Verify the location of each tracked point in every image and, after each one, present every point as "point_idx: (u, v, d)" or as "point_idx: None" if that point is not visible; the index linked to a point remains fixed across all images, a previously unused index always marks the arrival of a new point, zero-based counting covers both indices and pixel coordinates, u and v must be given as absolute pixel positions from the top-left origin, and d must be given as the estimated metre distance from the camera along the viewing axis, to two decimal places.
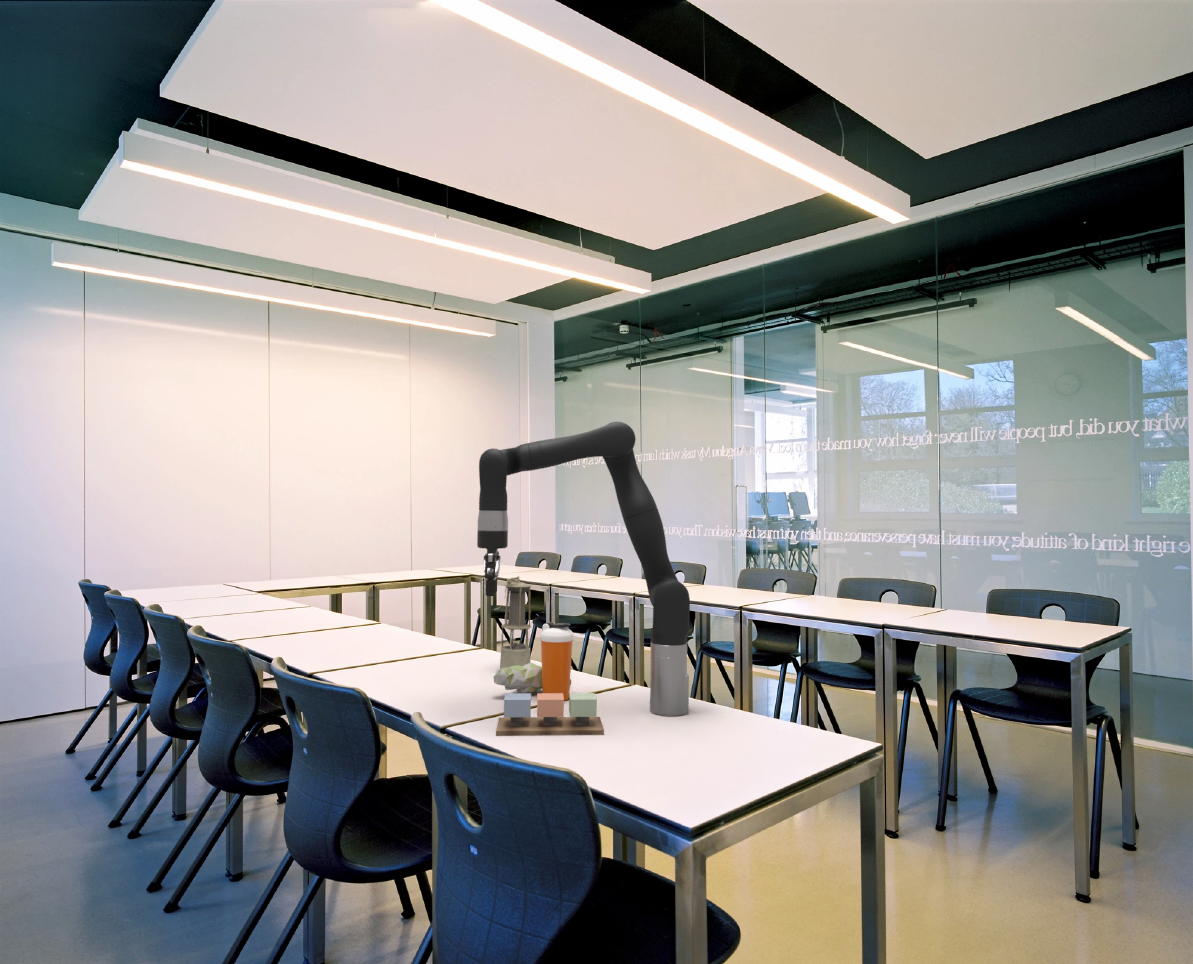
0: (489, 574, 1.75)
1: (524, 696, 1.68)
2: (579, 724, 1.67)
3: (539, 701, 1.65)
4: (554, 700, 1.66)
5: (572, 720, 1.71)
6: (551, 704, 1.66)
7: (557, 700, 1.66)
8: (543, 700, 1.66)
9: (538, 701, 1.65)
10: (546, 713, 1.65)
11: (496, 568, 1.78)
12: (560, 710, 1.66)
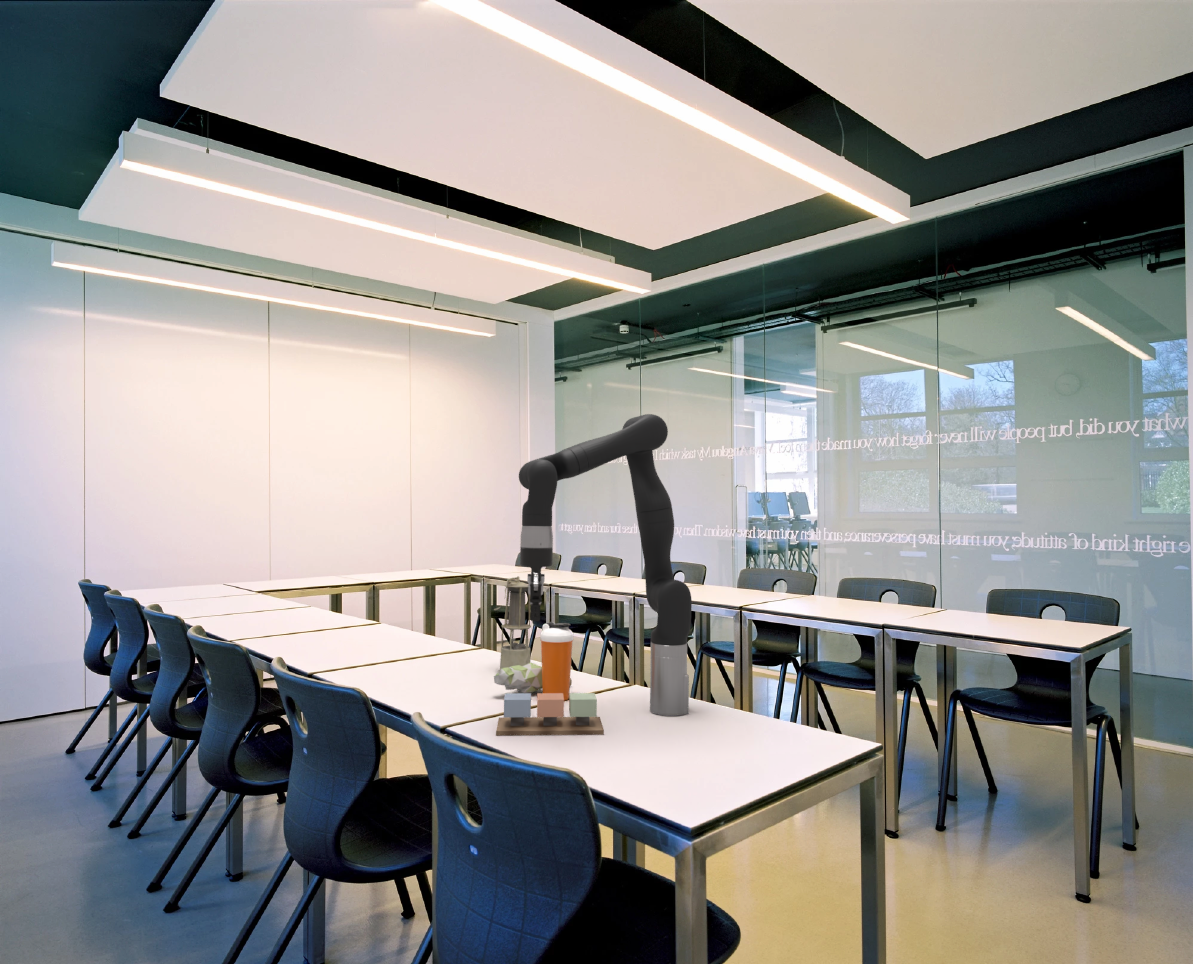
0: (535, 598, 1.66)
1: (524, 696, 1.68)
2: (579, 724, 1.67)
3: (539, 701, 1.65)
4: (554, 700, 1.66)
5: (572, 720, 1.71)
6: (551, 704, 1.66)
7: (557, 700, 1.66)
8: (543, 700, 1.66)
9: (538, 701, 1.65)
10: (546, 713, 1.65)
11: (541, 592, 1.68)
12: (560, 710, 1.66)
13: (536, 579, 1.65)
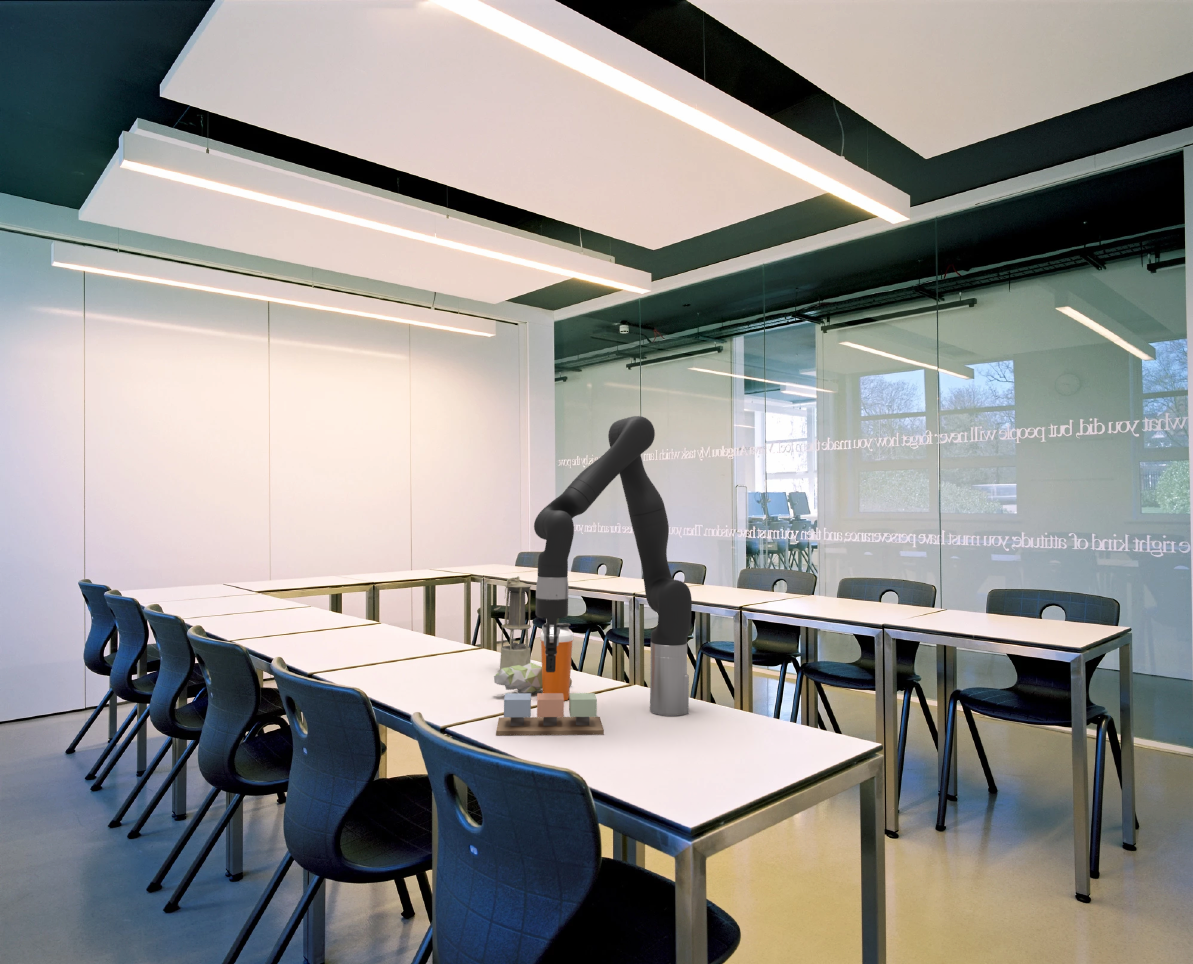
0: (550, 650, 1.66)
1: (524, 696, 1.68)
2: (579, 724, 1.67)
3: (539, 701, 1.65)
4: (554, 700, 1.66)
5: (572, 720, 1.71)
6: (551, 704, 1.66)
7: (557, 700, 1.66)
8: (543, 700, 1.66)
9: (538, 701, 1.65)
10: (546, 713, 1.65)
11: (557, 643, 1.68)
12: (560, 710, 1.66)
13: (552, 631, 1.65)
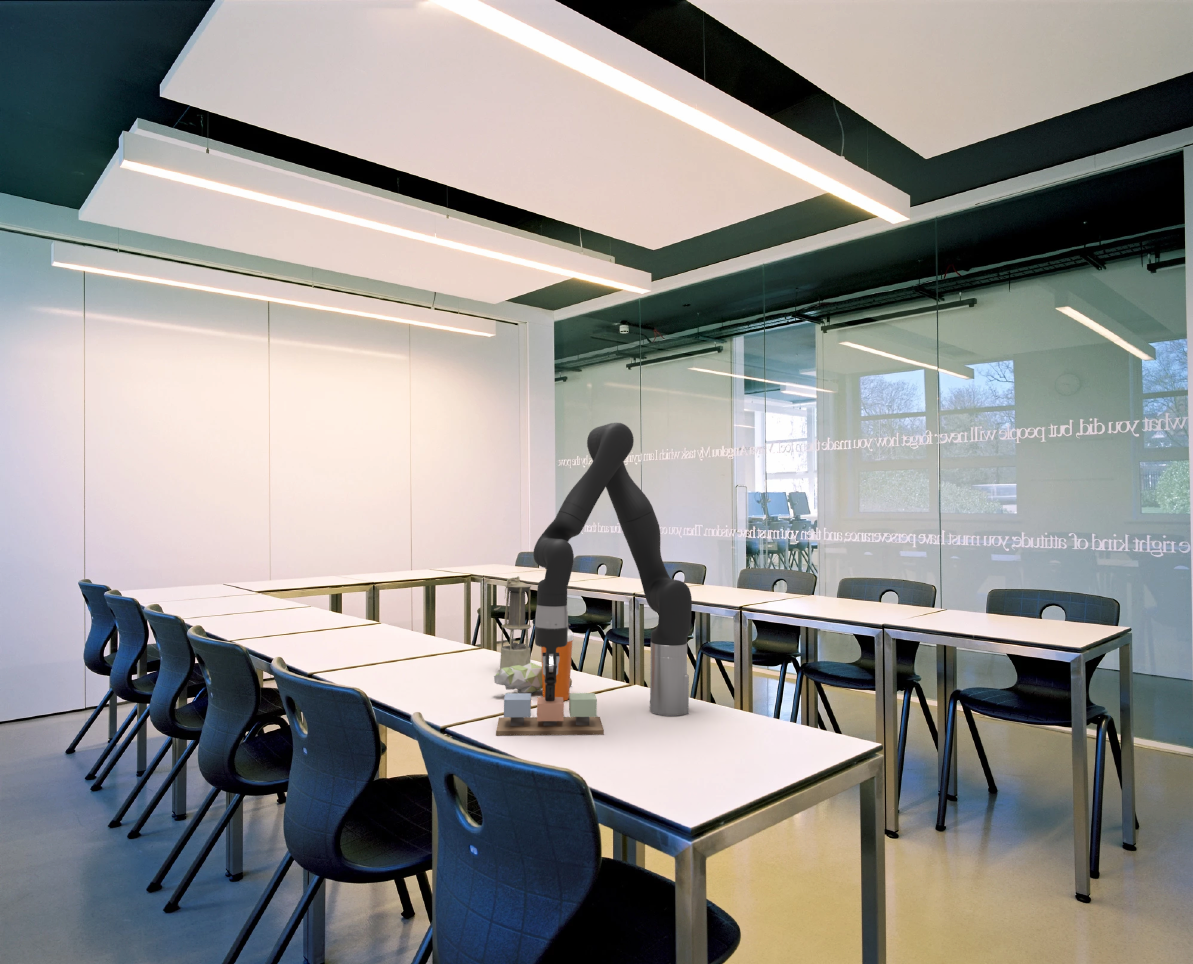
0: (550, 679, 1.66)
1: (524, 696, 1.68)
2: (579, 724, 1.67)
3: (538, 705, 1.65)
4: (554, 704, 1.66)
5: (572, 720, 1.71)
6: (551, 708, 1.66)
7: (557, 704, 1.66)
8: (543, 704, 1.66)
9: (538, 705, 1.65)
10: (546, 717, 1.65)
11: (556, 672, 1.67)
12: (560, 714, 1.66)
13: (551, 661, 1.64)
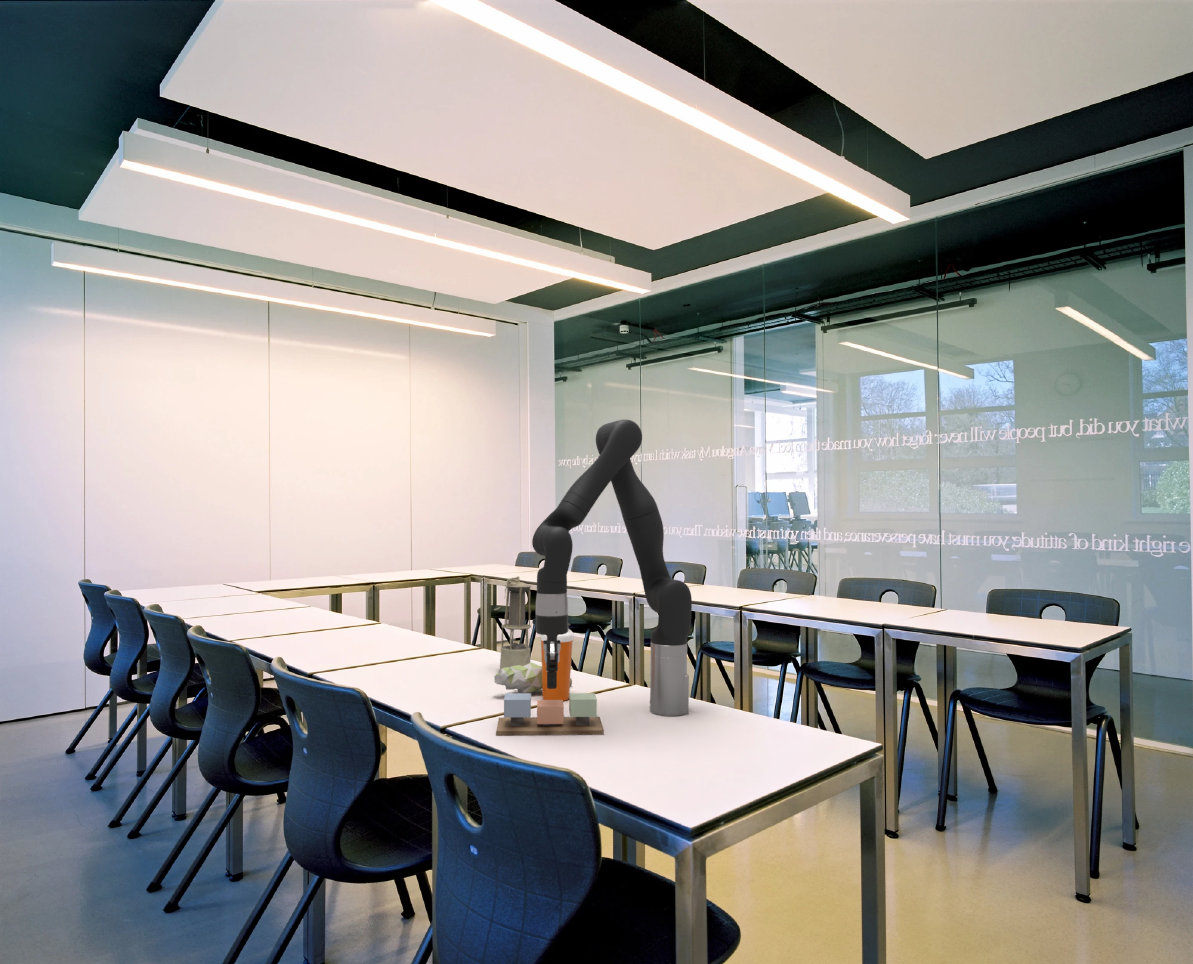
0: (551, 667, 1.66)
1: (524, 696, 1.68)
2: (579, 724, 1.67)
3: (538, 708, 1.65)
4: (554, 707, 1.66)
5: (572, 720, 1.71)
6: (551, 711, 1.66)
7: (557, 707, 1.66)
8: (543, 707, 1.66)
9: (538, 708, 1.65)
10: (546, 720, 1.65)
11: (557, 660, 1.68)
12: (560, 717, 1.66)
13: (552, 648, 1.64)
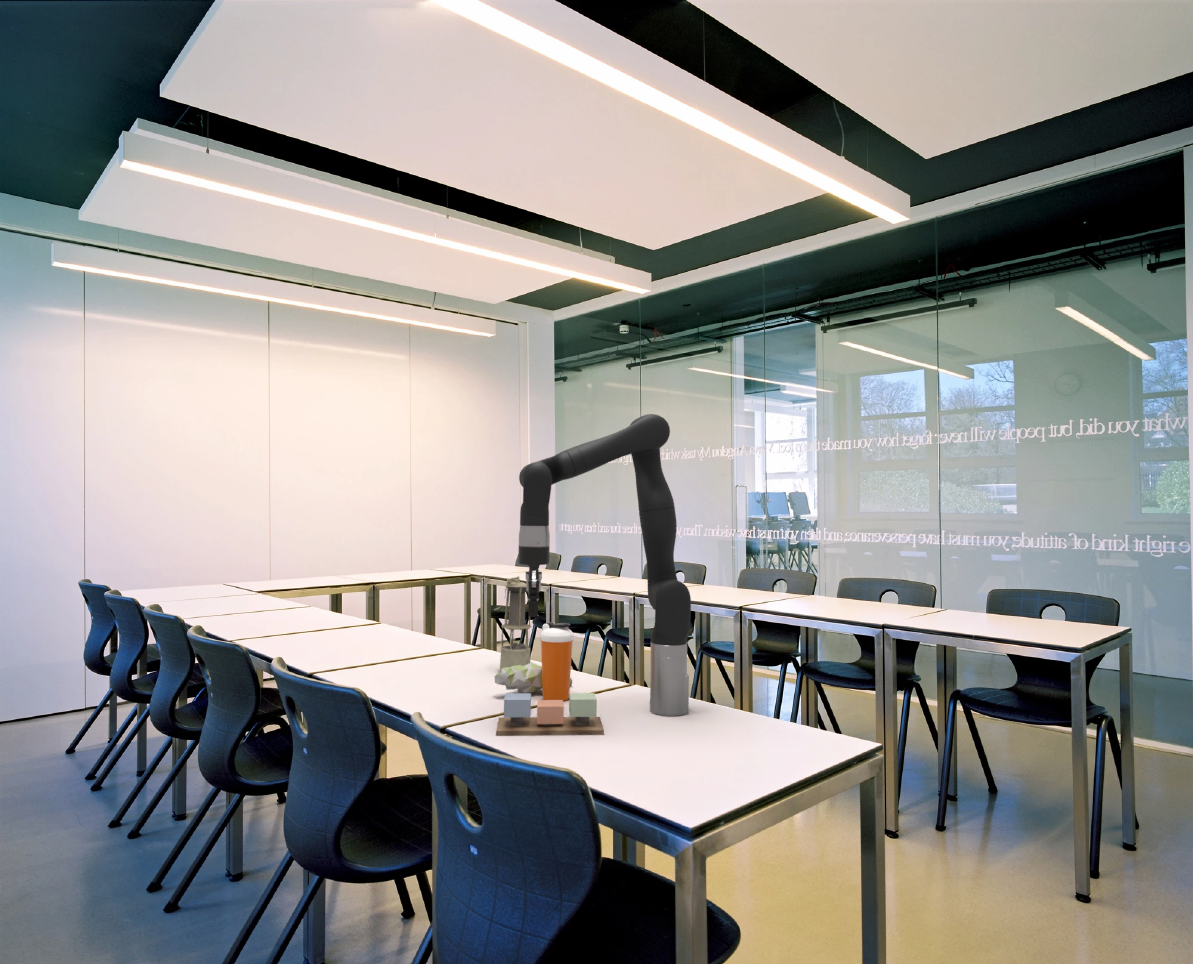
0: (533, 595, 1.74)
1: (524, 696, 1.68)
2: (579, 724, 1.67)
3: (538, 708, 1.65)
4: (554, 707, 1.66)
5: (572, 720, 1.71)
6: (551, 711, 1.66)
7: (557, 707, 1.66)
8: (543, 707, 1.66)
9: (538, 708, 1.65)
10: (546, 720, 1.65)
11: (539, 589, 1.76)
12: (560, 717, 1.66)
13: (534, 576, 1.72)
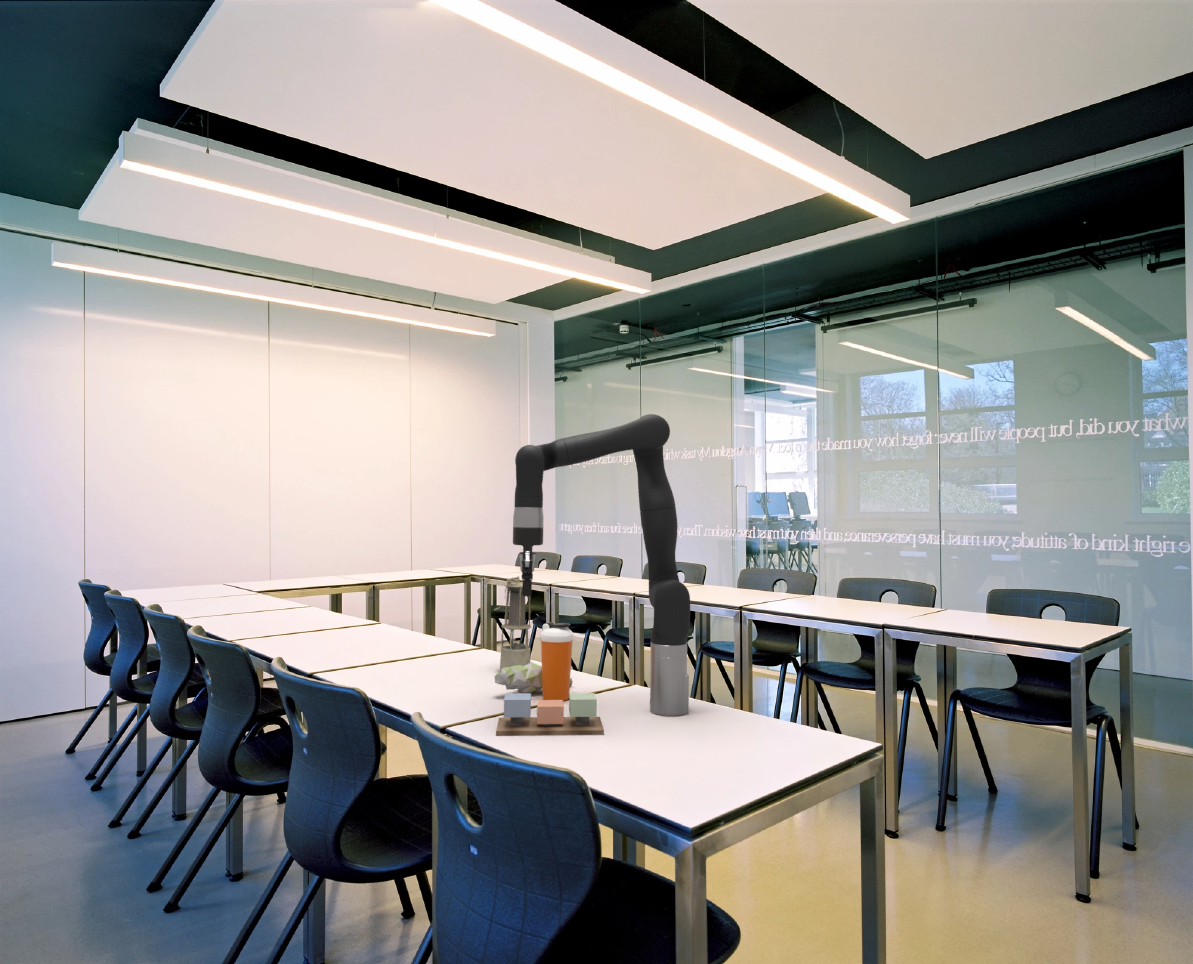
0: (526, 575, 1.78)
1: (524, 696, 1.68)
2: (579, 724, 1.67)
3: (538, 708, 1.65)
4: (554, 707, 1.66)
5: (572, 720, 1.71)
6: (551, 711, 1.66)
7: (557, 707, 1.66)
8: (543, 707, 1.66)
9: (538, 708, 1.65)
10: (546, 720, 1.65)
11: (532, 569, 1.80)
12: (560, 717, 1.66)
13: (527, 556, 1.76)
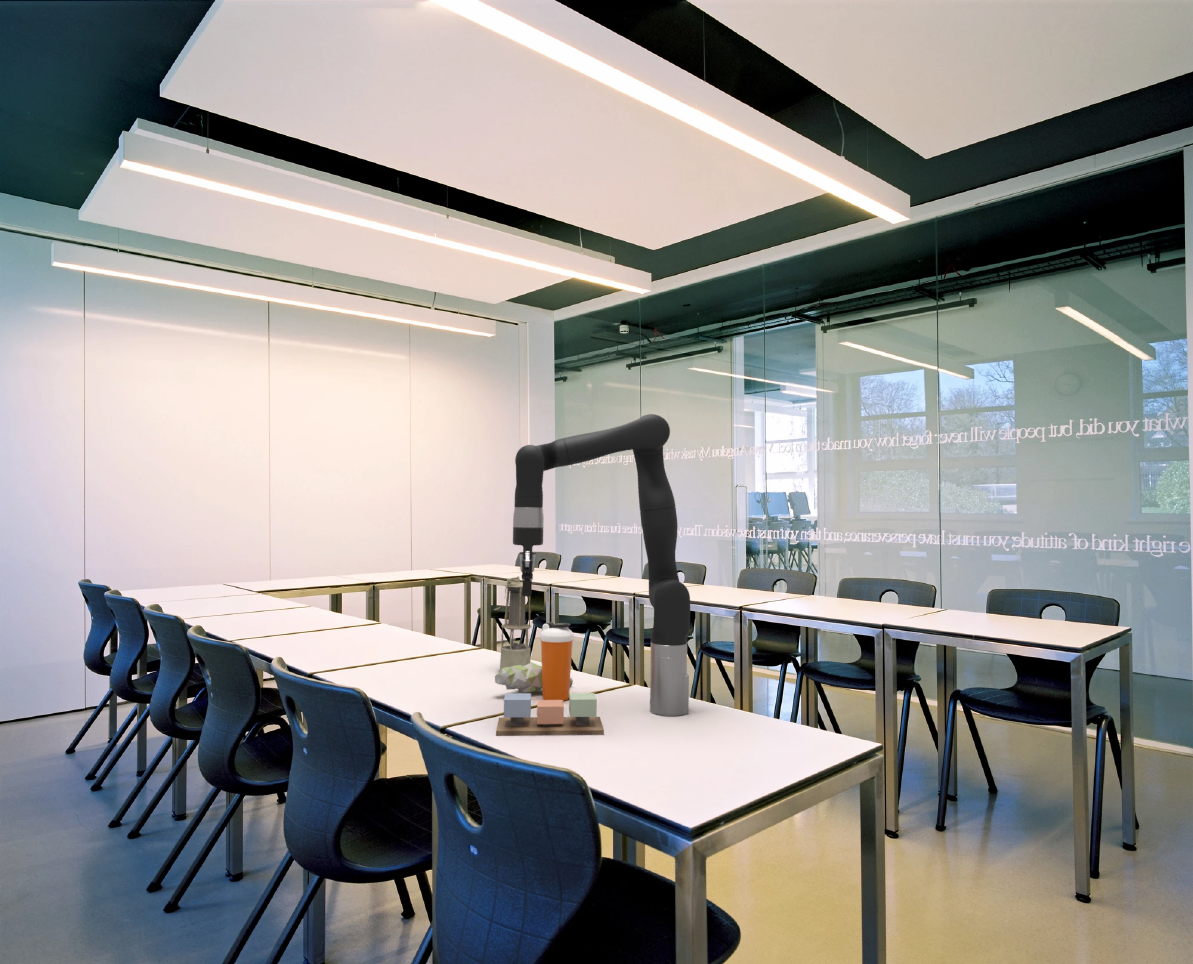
0: (526, 575, 1.78)
1: (524, 696, 1.68)
2: (579, 724, 1.67)
3: (538, 708, 1.65)
4: (554, 707, 1.66)
5: (572, 720, 1.71)
6: (551, 711, 1.66)
7: (557, 707, 1.66)
8: (543, 707, 1.66)
9: (538, 708, 1.65)
10: (546, 720, 1.65)
11: (532, 569, 1.80)
12: (560, 717, 1.66)
13: (527, 556, 1.76)
